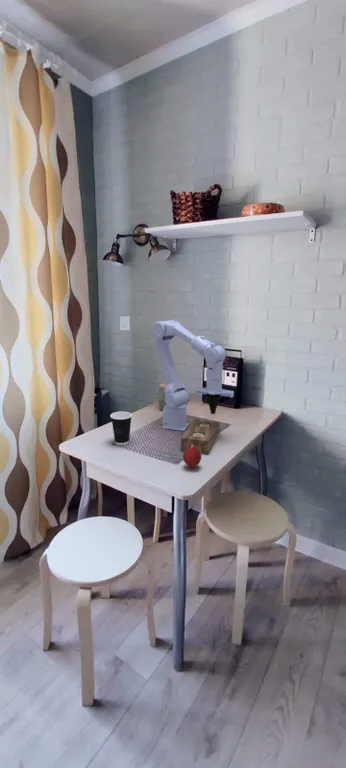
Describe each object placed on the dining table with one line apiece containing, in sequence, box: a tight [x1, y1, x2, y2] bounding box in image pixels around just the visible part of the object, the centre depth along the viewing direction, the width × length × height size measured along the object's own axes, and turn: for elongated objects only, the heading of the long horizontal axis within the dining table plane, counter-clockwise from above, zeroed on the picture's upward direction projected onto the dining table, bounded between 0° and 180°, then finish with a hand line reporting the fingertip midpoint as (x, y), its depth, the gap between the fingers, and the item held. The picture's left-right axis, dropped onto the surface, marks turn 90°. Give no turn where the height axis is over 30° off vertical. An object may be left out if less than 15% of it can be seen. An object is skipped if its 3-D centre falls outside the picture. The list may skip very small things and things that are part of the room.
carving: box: [157, 383, 167, 411], centre depth 181 cm, size 6×8×12 cm
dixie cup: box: [109, 411, 133, 446], centre depth 144 cm, size 8×8×11 cm
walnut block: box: [180, 418, 221, 455], centre depth 146 cm, size 10×20×5 cm, turn 162°
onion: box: [182, 445, 202, 469], centre depth 125 cm, size 6×6×8 cm
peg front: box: [193, 433, 204, 437], centre depth 141 cm, size 4×4×4 cm
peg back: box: [199, 423, 210, 428], centre depth 150 cm, size 4×4×4 cm
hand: (213, 413), depth 148 cm, fingers closed
